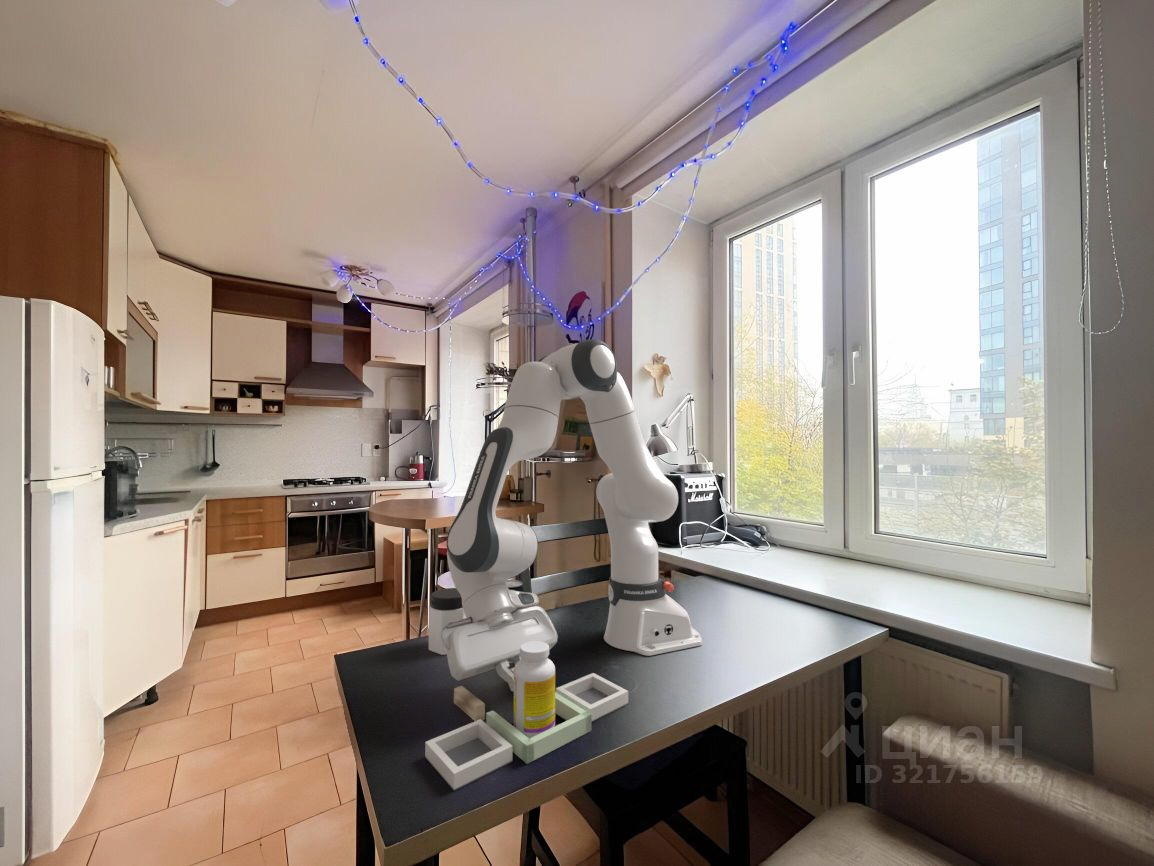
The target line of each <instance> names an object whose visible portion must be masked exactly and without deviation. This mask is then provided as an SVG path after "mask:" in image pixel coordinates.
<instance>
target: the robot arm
mask: <svg viewBox="0 0 1154 866" xmlns="http://www.w3.org/2000/svg"><path fill="white" fill-rule="evenodd" d="M615 356H616V355H615V353H614V352H613V350H612V349H611V348H610V347H609V345H608V344H607V343H606V342H604V341H603V340H600V339H585V340H581V341H579V342H578V343H573V344H570V345H566V346H563V347H561V348H559V349H558V350H556V351H553V352H552V353H550V354H549V355H545V356H543V357H541V358H540V359H539V360H538V361H528V362H526V363H523V364H521V365H520V366H519V367H518V368H517V370H516V371H515V374H514V375H513V379H512V381H511V384H510V387H509V389H508V394H507V397H506V400H505V405H504V410H503V414H502V418H501V420H500V422H499V424H498V426H497V428H496V429H493V430H492V431H491V432H490V433H489V434H488V435H487V437H486V438H485V440H484V442H483V445H482V447H481V449H480V452H479V455H478V457H477V461H476V463H475V466H474V468H473V472H472V475H471V476H470V477H471V478H470V481H469V483H468V487H467V490H466V491H465V495H464V498H463V501H462V503H461V506H460V508H459V510H458V513H457V514H456V517H455V518H454V520H453V522H452V524H451V525H450V527H449V530H448V532H447V536H446V551H447V552H446V557H447V565H448V569H449V573H450V575H451V579H452V583H453V585H454V588H456V589H457V591H458V592H459V593H460V595H461V598H462V607H463V610H464V613H465V615H466V618H465V619H461V620H459V621H455V622H449V623H447V624H446V626H445V627H444V628H443V629H442V630H441V639H442V642H443V645H444V647H445V648H446V652H447V654H446V658H447V664H448V669H449V671H450V675H451V677H452V678H454V679H455V680H456V681H461V680H465V679H468V678H471V677H474V676H478V675H480V674H483V673H485V672H488V671H492V670H495V671H496V673H497V675H498V676H499V677H500V678H501V679H503V680H504V681H505V682H507V684H508V686H509V687H508V688H509V689H510V691H511V692H514V674H513V673H512V672H511V671H510V668H509V667H510V664H514V666H515V665H516V663H517V662H518V661H519V660H521V656H520V646H521V645H522V644H524V643H526V642H530V641H541V642H545V643H547V644H548V645H549V651H550V650H551V649H552V648H553V647H554V646H555V645H556V644H557V643H558V637H559V635H558V633H557V629H556V628H555V626H554V624H553V622H552V620H551V618H550V615H548V613H547V611H546V610H545V609H544V608H543V607H541V606H539V605H538V604H539V603H540V599H539V597H538V595H537V594H536V593H534V592H525V591H524V592H519V591H514V590H509V589H508V586H507V583H506V582H507V580H511V579H512V578H515V577H516V576H518V575H520V574H522V573H523V572H525V571H526V570H528V569H529V568H530V567H532V565H533V564H534V562H535V560H536V558H537V557H538V551H539V541H538V536H537V534H536V532H535V530H534V529H533V528H532V527H531V526H530V525H528V524H527V523H523V522H521V521H520V522H519V521H516V520H512V519H505V518H502V517H501V518H500V517H497V512H496V511H497V510H496V509H497V506H498V504H499V503H498V502H499V499H500V498H501V497H500V496H501V494H502V491H503V488H504V485H505V481H506V478H507V475H508V472H509V471H510V469H511V468H512V467H513V466H514V465H515V464H517V463H518V462H521V461H526V460H531V459H535V458H538V457H540V456H542V455H544V454H545V453H547V452H548V451H549V450H550V448H551V447H552V445H553V444H554V441H555V439H556V437H557V435H556V434H557V430H558V425H559V417H560V412H561V411H560V410H561V402H562V401H563V400H571V399H576V398H579V399H581V400H582V402H583V403H584V405H585V411H586V417H587V419H588V423H589V427H590V431H591V434H592V438H593V441H594V444H595V447H596V451H597V454H598V456H599V457H600V459H601V460H602V461H603V462H604V463H605V464H606V466H607V467H608V469H609V470H610V473H607V474H606V475H604V476H602V477H601V478H600V480H599V482H598V483H597V485H596V489H595V491H596V492H595V495H596V499H597V501H598V502H597V503H599V505H600V506H601V508H602V511H603V514H604V515H603V516H604V519H605V524H606V528H607V531H608V532H607V533H608V537H609V543H610V545H609V546H610V576H609V579H608V601H609V609H608V610H609V611H608V617H607V624H606V629H605V632H604V635H603V640H604V642H606V643H607V644H608V645H609V646H611V647H613V648H616V649H619V650H624V651H628V652H634V653H636V654H639V655H642V656H646V657H648V656H649V657H650V656H655V655H659V654H664V653H669V652H675V651H679V650H684V649H690V648H695V647H699V646H702V645H703V638H702V636H701V634H700V633H699V632H698V631H697V630H696V629H695V628H694V627H692V622H691V619H690V618H691V617H690V615H689V614H688V613H689V612H687V610H686V609H685V608H684V607H682V606H681V605H680V604H679V603H678V602H676V600H674V599H673V598H672V597H670V596H669V595H668V594H667V593H672V592H673V591H674V588H675V586H674V585H673V583H670V581H665V580H664V579H663V578H660V577H659V545H658V542H657V541H656V539H655V538H654V536H653V533H652V532H651V531H652V530H651V528H650V525H649V523H658V522H664V521H667V520H669V519H670V518H671V517H672V516H673V515H674V514H675V512H676V510H677V507H678V505H679V493H678V490H677V488H676V486H675V485H674V483H673V482H672V481H671V480H670V479H669V478H667V476H666V475H665V474H664V473H663V472H662V471H661V469H660V467H659V465H658V464H657V463H656V461H655V458H654V457H653V455H652V454H651V452H650V450H649V448H648V446H647V444H646V440H645V439H644V436H643V433H642V430H641V426H640V422H639V419H638V416H637V412H636V408H635V405H634V402H633V399H632V397H631V394H630V391H629V389H628V387H627V384H626V382H625V380H624V378H623V377H622V375H621V373H620V372H618V363H617V359H616V357H615ZM666 592H667V593H666ZM445 629H446V630H445Z"/></svg>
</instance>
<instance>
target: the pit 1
mask: <svg viewBox="0 0 1154 866" xmlns="http://www.w3.org/2000/svg"><path fill="white" fill-rule="evenodd" d="M424 743H425V745H424V746H425V747H424V748H425V752H424V755H425V756H424V758H425V759H426V760H427V762H428V763H429V764H430V765H431V767H433V768H434V770H436V772H437V773H438V774H439V776H440V777H441V778H442V779H443V780H444V781H445V783H447V784H448V786H449V787H450V788H451V789H452V791H454V792H455V791H457V790H459V789H461V788H463V787H465V786H467V785H469V784H471V783H472V782H473V783H474V782H475V781H477V780H479V779H482V778H483V777H485V776H487V775H490V774H491V773H493V772H496V771H497V770H499V769H501V768H503V767H505V766H507V765H509V764H511V763H513V753H514V752H513V746H512V745H511V744H510V743H508V742H507V741H506V740H505V739H504V738H502V737H501V736H500V735H499V734H498V733H497V732H495V731H494V730H493V729H492V728H491V727H489V726H488V725H487V724H486V721H484V720H481V719H480V720H477V721H474V722H473V721H472V722H470V723H468V724H466V725H463V726H460V727H458V728H456V729H453V730H451V731H449V732H446V733H443V734H441V735H439V736H436V737H434V738H431V739H429V740H427V741H425V742H424Z"/></svg>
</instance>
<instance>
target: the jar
mask: <svg viewBox="0 0 1154 866" xmlns="http://www.w3.org/2000/svg"><path fill="white" fill-rule="evenodd" d="M465 618H466V615H465V613H464V610H463V607H462V598H461V595H460V593H459V592H458V591H457V589H456V587H448V588H441V589H438V590H435V591H433V592H432V593H431V595H430V606H429V607H428V651H430V652H433V653H436V654H438V655H440V656H445V655H446V656H447V652H446V648H445V647H444V645H443V642H442V639H441V630H442V629H443V628H444V627H445V626H446V624H447V623H449V622H455V621H459V620H461V619H465ZM445 630H446V629H445Z"/></svg>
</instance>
